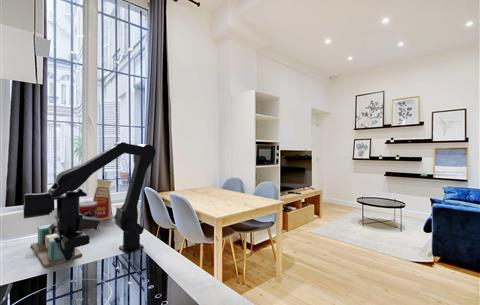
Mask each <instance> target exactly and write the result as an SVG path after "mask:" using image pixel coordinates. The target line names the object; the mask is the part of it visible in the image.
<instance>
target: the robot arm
mask: <svg viewBox="0 0 480 305" xmlns="http://www.w3.org/2000/svg"><path fill="white" fill-rule="evenodd" d="M123 154H126V155H127V154H128V155H133V165H134V166H133V170H132V173H131V177H130V181H129V185H128V188H127V192H126V196H125V200H124V202H123V204H122V206H121V207H118V206H117V207H116V211H115V215H114V216H113V219H114V223H115V225H116V226H117V227H118V228H119V229H120V230H122V245H119V246H118V248H119V249H120V250H121V251H123V252H124V253H126V254H130V253H131V252H132V253H133V252H134V251H138V250H140V249H143V248H144V247H145V246H144V245H143V244H141V234H143V232H144V230H145V227H143V225H141V224H139V223H138V222H139V221H138V220H139V210H138V205H139V201H140V198H141V192H142V190H143V185H144V182H145V178H146V174H147V170H148V169H149V167H150V166H151V164H152V163H153V161H154V159H155V157H156V154H157V151H156V148H155V147H154V146H153V145H152V144H145V143H139V144H138V145H137V144H132V143H127V142H126V141H125V142H123V141H117V142H116V143H114V144H113V145H112V146H110V147H108V148H107V149H106V150H104V151H102V152H100V153H99V154H97V155H95V156H93V157H92V158H91V159H89V160H87V161H86V162H84V163H82V164H80V165H77V166H73V167H71V168H68V169H65V170H64V171H61V172H59V173H58V174H57V175H56V177H55V181H54V183H53V185H51V187H50V188H49V189H48V190H47V192H38V193H24V199H23V200H24V202H23V207H22V208H23V212H22V213H23V219H29V218H38V217H42V216H49V215H50V214H51V213H53V212H54V211H55V200H56V214H54V219H55V220H56V222H55V223H51V224H52V225H51V226H49V233H50V234H51V235H52V234H53V233H54V231H55V232H56V234H57V238H54V240H55V242H56V244H57V246H58V247H59V249H60V251H61V252H62V254H63V256H64V258H65V260H66V261H65V262H68V261H72V259H71V258H72V255H73V252H74V249H75V248H79V247H82V246H87V245H89V244H90V243H91V242H90V236H89V235H88V234H87V233H85V232H84V230H83V228H85V229H89V230H93V231H97V230H98V227H99V224H100V222H101V220H99V219H98V218H95V217H92V214H91V213H87V212H85V213H84V214H83V215H82V214H80V213H79V203H80V198H83V197H87V196H88V193H86V192H85V191H84V190H83V189H81V188H80V187H81V186H82V185H83V184H85V182H87V180H88V179H89V178H90V177H91V176H92V175H93V174H94V173H95V172H97V171H99V170H101V169H102V168H103V167H105V166H107V165H108V164H110V163H111V162H113V161H115V160H116V159H118V158H119V157H121V156H122V155H123Z"/></svg>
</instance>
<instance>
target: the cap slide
mask: <svg viewBox="0 0 480 305" xmlns="http://www.w3.org/2000/svg"><path fill="white" fill-rule="evenodd" d="M74 254H75V249H74V252H73V255H74ZM48 258H49V259H50V260H51V261H55V260H58V259H61V258H64V256H63V254H62V252H61V251H60V249H59V247H58V246H57V244H56V242H55V240H54V238H52V239H48Z"/></svg>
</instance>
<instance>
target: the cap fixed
mask: <svg viewBox="0 0 480 305" xmlns="http://www.w3.org/2000/svg"><path fill="white" fill-rule="evenodd" d="M52 224H53V223H51V224H45V225H41V226H40V225H39V226H37V242H38V244H39V245H40V246H41V245H43V243H42V242H45V235H49V234H50V233H49V226H51V225H52ZM54 233H56V232H55V231H54Z"/></svg>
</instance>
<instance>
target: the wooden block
mask: <svg viewBox="0 0 480 305" xmlns="http://www.w3.org/2000/svg"><path fill="white" fill-rule="evenodd" d="M52 238H57V234H56V233H53V234H52V235H51V234H49V235H45V246H46V247H47V248H48V239H52Z"/></svg>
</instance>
